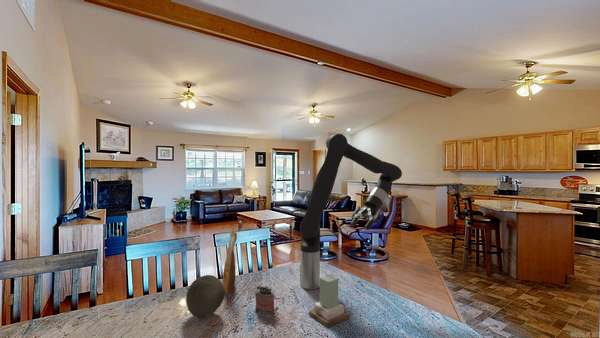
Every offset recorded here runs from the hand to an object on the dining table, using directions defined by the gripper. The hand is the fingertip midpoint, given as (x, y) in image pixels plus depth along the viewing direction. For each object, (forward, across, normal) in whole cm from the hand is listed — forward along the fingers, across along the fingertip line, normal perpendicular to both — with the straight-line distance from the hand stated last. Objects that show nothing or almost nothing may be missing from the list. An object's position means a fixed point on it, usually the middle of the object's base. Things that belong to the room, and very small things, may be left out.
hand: (359, 227), depth 127 cm
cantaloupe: (+65, -24, -21) cm, 72 cm away
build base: (+38, +5, +6) cm, 38 cm away
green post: (+34, +5, +3) cm, 35 cm away
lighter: (+51, -13, -7) cm, 53 cm away
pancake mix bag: (+52, -44, -8) cm, 69 cm away
